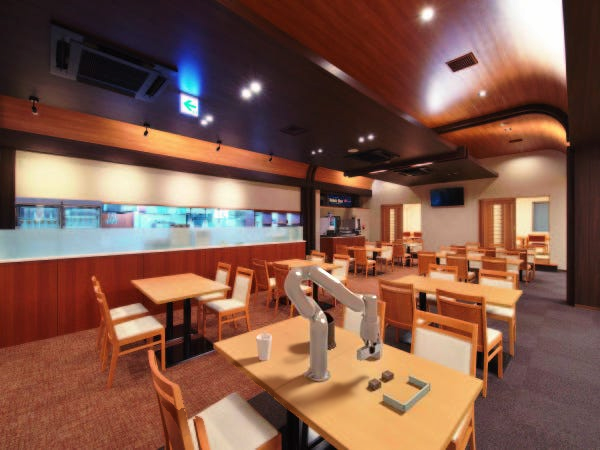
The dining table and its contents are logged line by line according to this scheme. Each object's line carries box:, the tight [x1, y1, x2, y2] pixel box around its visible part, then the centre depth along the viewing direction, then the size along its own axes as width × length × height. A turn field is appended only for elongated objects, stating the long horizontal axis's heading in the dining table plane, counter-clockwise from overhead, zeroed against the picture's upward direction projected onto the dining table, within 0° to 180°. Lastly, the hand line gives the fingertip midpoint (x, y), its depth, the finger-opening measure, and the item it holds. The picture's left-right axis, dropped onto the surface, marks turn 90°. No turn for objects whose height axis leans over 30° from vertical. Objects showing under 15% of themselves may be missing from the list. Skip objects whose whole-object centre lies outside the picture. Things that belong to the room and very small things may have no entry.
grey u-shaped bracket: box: [382, 374, 431, 414], centre depth 130 cm, size 25×11×4 cm, turn 131°
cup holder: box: [322, 310, 337, 351], centre depth 182 cm, size 18×24×25 cm
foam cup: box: [255, 333, 273, 362], centre depth 165 cm, size 10×9×13 cm
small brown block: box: [381, 370, 395, 382], centre depth 144 cm, size 5×4×3 cm
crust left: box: [367, 377, 382, 391], centre depth 136 cm, size 5×4×3 cm
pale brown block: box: [369, 341, 383, 360], centre depth 168 cm, size 4×7×10 cm, turn 53°
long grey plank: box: [356, 339, 383, 362], centre depth 146 cm, size 20×2×5 cm, turn 131°
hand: (370, 352), depth 146 cm, fingers closed on long grey plank, 2 cm apart
